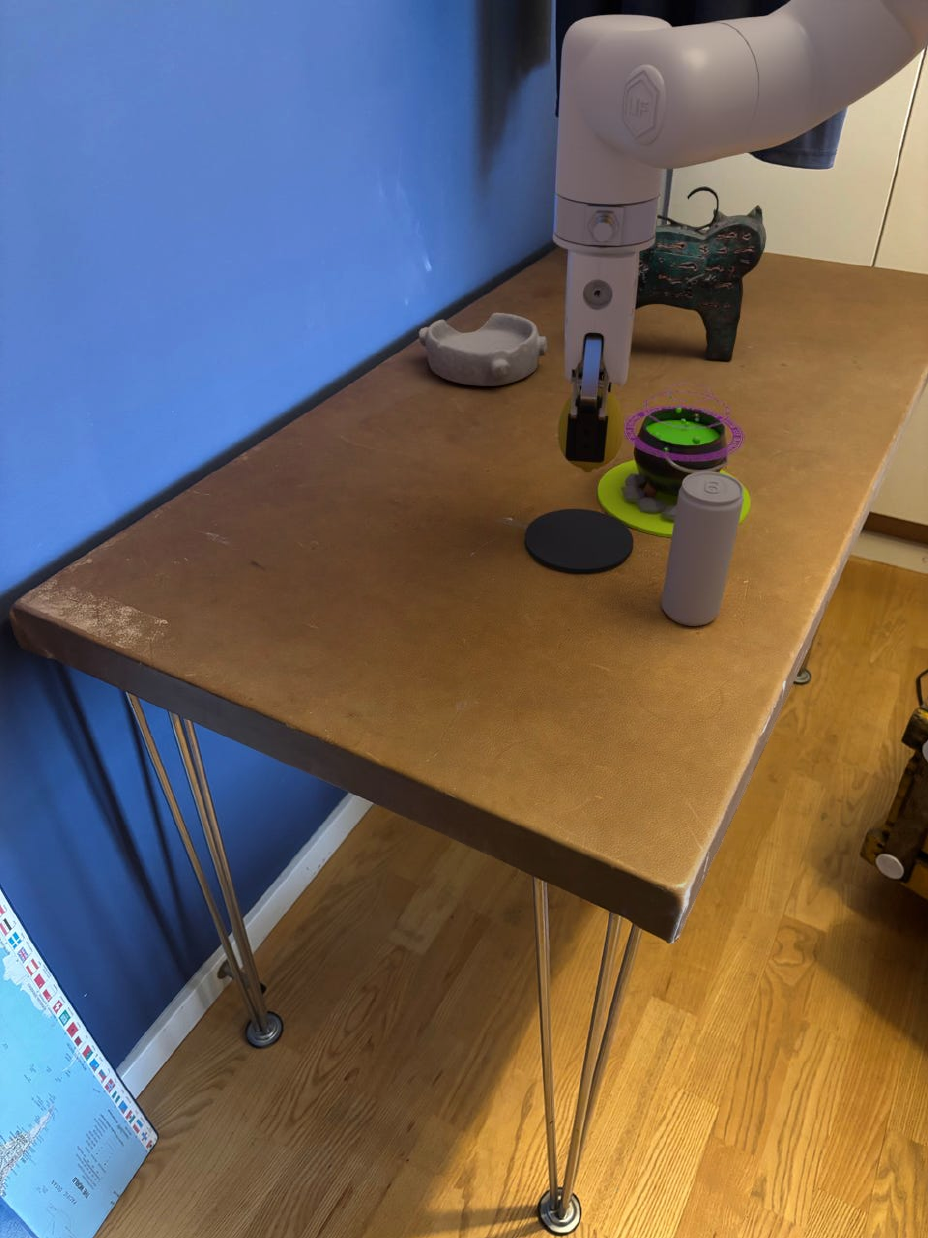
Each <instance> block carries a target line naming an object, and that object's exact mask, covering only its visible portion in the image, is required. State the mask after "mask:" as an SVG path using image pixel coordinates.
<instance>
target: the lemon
mask: <svg viewBox="0 0 928 1238" xmlns="http://www.w3.org/2000/svg"><path fill="white" fill-rule="evenodd" d="M579 395H581V390H580V391H579ZM597 396H600V398H601V388H598V391H597ZM571 405H572V395H571V396H569V397H568V398H567V400H566V401H565V403H564V405H563V408H562V410H561V412H560V416H559V420H558V425H557V438H558V444H559V448H560V451H561V454H562V455H563V457H565V453H566V438H567V423H568V413H571ZM605 416H608V426H607V437H606V447H605V457H604V461H603V462H601V463H594V462H579V461H568V463H570V464H571V465H572V466H574V467H576V468H579V469H581V470H582V471H583V472H584V473H591V472H593V471H594V470H597V469H600V468H602V467H605V466H607V465H608V464H610V462H612V460H613V459H615V457H616V456H617V454H618V452H619V451H620V449H621V446H622V443H623V440H624V436H625V434H624V431H625V426H624V422H625V419H624V412H623V409H622V406H621V404H620V402H619V400H618V399H617V397H616V396H614V394H612V393H611V392H608V393H607V403H606V414H605Z"/></svg>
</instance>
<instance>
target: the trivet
mask: <svg viewBox="0 0 928 1238" xmlns="http://www.w3.org/2000/svg"><path fill="white" fill-rule="evenodd" d="M523 537H524V539H523V541H524V547H525V549H526V551H527V553H528V554H529V555H530V556H531V558H532V559H533V560H535V561H536V562H537V563H539V564H540V565H542V566H545V567H547V568H549V569H552V570H555V571H558V572H562V573H568V574H574V575H575V574H576V575H592V574H598V573H603V572H607V571H610V570H613V569H616V568H618V567H619V566H621V565H622V564H624V563H625V562H626V561H627V560H628V559H629V558H630V557H631V554H632V552H633V549H634V536H633V534H632V532H631V530H630V529H629V527H628V526H627V525H625V524H623V523H622V522H621V521H619V520H618V519H616V518H614V517H612V516H611V515H609V514H608V513H604V512H600V511H596V510H593V509H585V508H564V509H557V510H553V511H550V512H546V513H544V514H542V515H539V516H537V517H536V518H535V519H533V520H532V521H531V522H530V523H529V524H528V525H527V527H526V529H525V531H524V536H523Z"/></svg>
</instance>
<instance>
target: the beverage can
mask: <svg viewBox="0 0 928 1238" xmlns="http://www.w3.org/2000/svg"><path fill="white" fill-rule="evenodd" d="M732 476H733V475H732ZM732 476H729V475H726V474H724V473H719V472H711V471H703V472H696V473H692V474H690V475H688V476H687V477H685V478H684V480H683V482H682V486H681V488H680V490H679V494H678V500H677V506H676V513H675V519H674V525H673V532H672V537H670V538H671V539H670V544H669V551H668V558H667V565H666V571H665V577H664V583H663V590H662V597H661V607H662V610H663V612H664V613H665V614H666V615H667V616H668V617H669V619H671V620H673V621H674V622H676V623H678V624H681V625H684V626H689V627H699V626H704V625H707V624H709V623H710V622H712V621H714V620H716V618H717V617H718V616H719V615H720V613H721V608H722V603H723V599H724V593H725V589H726V584H727V580H728V575H729V572H730V571H729V570H730V566H731V561H732V556H733V551H734V548H735V543H736V538H737V533H738V529H739V525H740V524H739V520H740V515H741V510H742V506H743V501H744V498H743V492H744V490H743V486H744V485H743V486H742V484H743V483H742V482H741V481H740V480H739V479H737V478H736V477H735V478H736V479H735V478H733V477H734V476H733V477H732ZM740 482H741V483H742V484H741V483H740ZM738 524H739V525H738Z"/></svg>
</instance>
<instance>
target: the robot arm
mask: <svg viewBox="0 0 928 1238" xmlns="http://www.w3.org/2000/svg"><path fill="white" fill-rule="evenodd" d="M927 47H928V0H789V1H787V2H786V4H783V5H782V6H781V7H780V8H777V9H776V10H774V11H773V12H771V13H769V14H768V15H763V16H752V17H751V16H750V17H740V18H733V19H724V20H716V21H715V20H714V21H710V22H705V23H698V24H688V25H681V26H672V25H671V24H670V23H669V22H668V21H666V20H664V19H662V18H659V17H654V16H648V15H639V14H604V15H603V14H602V15H595V16H589V17H583V18H582V19H579V20H577V21H575V22H574V23H572V25H570V26H569V28H568V29H567V31H566V32H565V35H564V38H563V41H562V47H561V57H560V58H561V59H560V76H559V77H560V79H559V100H558V120H557V121H558V122H557V125H558V126H557V142H556V159H555V160H556V161H555V183H554V203H553V204H554V205H553V222H552V223H553V224H552V225H553V226H552V241H553V242H554V243H555V245H557V246H558V247H560V248H563V249H565V250H567V259H566V261H567V262H566V263H567V264H566V280H565V281H566V282H565V284H566V285H565V300H564V301H565V302H564V303H565V305H564V378H565V380H566V381H567V382H569V384H572V393H571V396H572V405H571V413H568V423H567V438H566V453H565V456H564V458H565V459H566V461H568V462H569V461H579V462H594V463H601V462H603V461H604V457H605V447H606V437H607V426H608V416H605V414H606V403H607V393H608V392H610V393H611V391H612V384H614V385H618V387H623V386H625V385H626V383H627V382H628V377H629V369H630V361H631V350H632V341H633V332H634V325H635V314H636V310H635V306H636V296H637V286H638V273H639V251H642V250H645V249H647V248H649V247H650V246H652V245H653V244H654V243H655V235H656V227H657V226H658V215H659V210H660V209H659V208H660V202H661V201H660V200H661V191H662V183H663V174H664V170H677V169H684V168H689V167H693V166H697V165H702V164H706V163H711V162H715V161H719V160H721V159H725V158H729V157H734V156H739V155H743V154H749V153H752V152H756V151H757V152H758V151H761V150H767V149H770V148H774V147H777V146H781V145H783V144H786V143H787V142H790V141H792V140H794V139H796V138H797V137H800V136H801V135H803V134H805V133H807V132H809V131H810V130H812V129H814V128H815V127H818V126H819V125H820V124H823V122H825V121H826V120H829V119H830V118H832V117H833V116H835V115H837V114H838V113H840V112H841V111H843V110H845V109H847V108H848V107H849V106H851V105H853V104H855V103H856V102H857V101H860V100H861V99H862V98H864V97H866V96H867V95H869V94H870V93H872V92H874V91H875V90H877V89H878V88H879V87H881V86H882V85H884V84H885V83H887V82H888V81H890V80H891V79H892V78H893V77H895V76H896V75H897V74H898V73H900V72H901V71H902V70H903V69H904V68H906V67H907V66H908V65H909V64H911V62H912V61H914V60H915V58H917V56H919V55H920V54H921V53H922V52H923V51H924V50H925V49H927ZM598 388H601V398H600V396H597V391H598ZM580 390H581V395H579V391H580Z"/></svg>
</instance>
